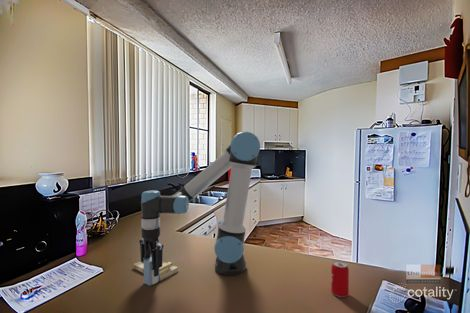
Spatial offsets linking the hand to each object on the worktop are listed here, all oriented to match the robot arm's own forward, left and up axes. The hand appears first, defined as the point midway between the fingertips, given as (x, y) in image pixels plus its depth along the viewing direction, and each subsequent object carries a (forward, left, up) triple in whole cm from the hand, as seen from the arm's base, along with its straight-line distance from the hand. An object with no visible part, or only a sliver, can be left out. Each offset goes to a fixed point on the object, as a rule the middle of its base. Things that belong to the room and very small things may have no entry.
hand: (151, 281), depth 105 cm
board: (+8, -8, 0) cm, 11 cm away
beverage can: (-68, -37, -1) cm, 78 cm away
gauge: (0, -4, 0) cm, 4 cm away
